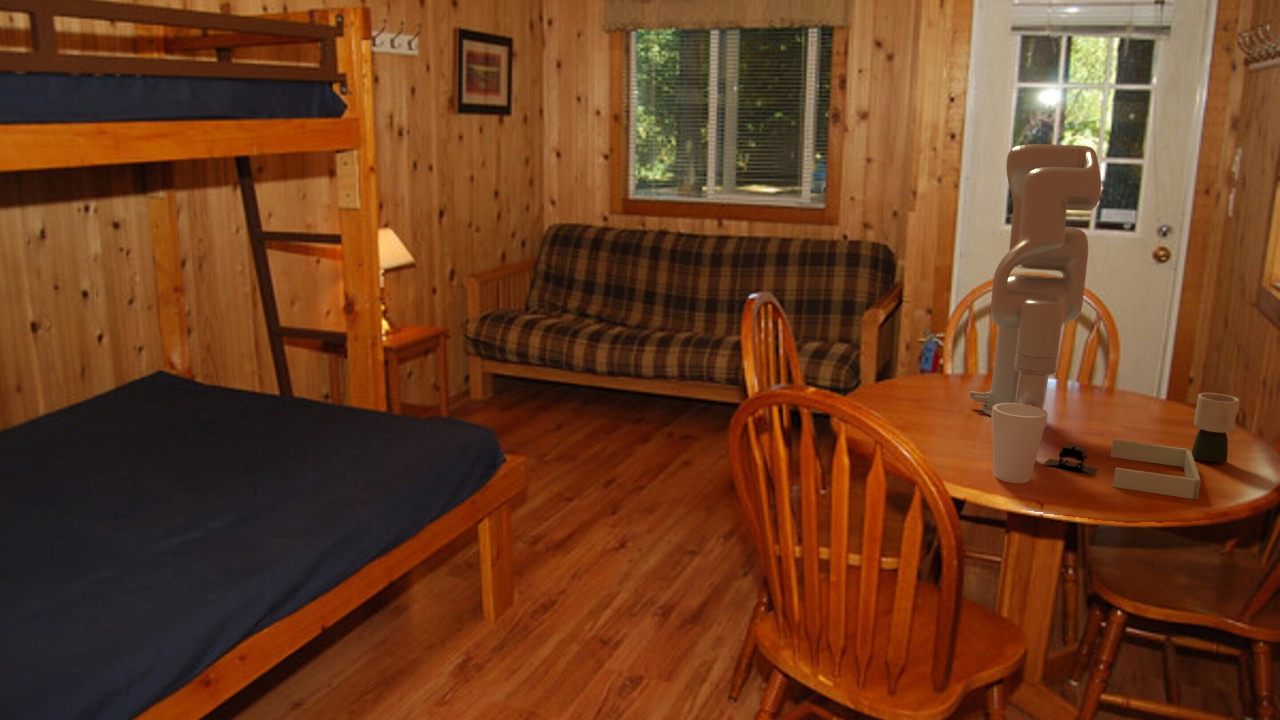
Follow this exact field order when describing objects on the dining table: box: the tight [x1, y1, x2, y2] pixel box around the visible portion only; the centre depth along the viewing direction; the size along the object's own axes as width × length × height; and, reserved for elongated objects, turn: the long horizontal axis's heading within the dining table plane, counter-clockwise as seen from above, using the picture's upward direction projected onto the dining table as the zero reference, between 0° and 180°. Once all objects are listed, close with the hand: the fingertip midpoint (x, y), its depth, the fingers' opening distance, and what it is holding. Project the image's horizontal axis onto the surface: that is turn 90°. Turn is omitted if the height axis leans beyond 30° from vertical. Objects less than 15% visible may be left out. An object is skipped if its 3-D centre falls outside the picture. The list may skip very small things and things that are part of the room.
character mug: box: [1191, 392, 1240, 464], centre depth 195 cm, size 11×7×13 cm, turn 178°
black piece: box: [1041, 443, 1100, 477], centre depth 191 cm, size 12×7×5 cm, turn 55°
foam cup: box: [990, 403, 1049, 484], centre depth 183 cm, size 10×9×13 cm
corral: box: [1110, 438, 1202, 500], centre depth 186 cm, size 14×20×4 cm
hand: (1024, 453), depth 195 cm, fingers closed
